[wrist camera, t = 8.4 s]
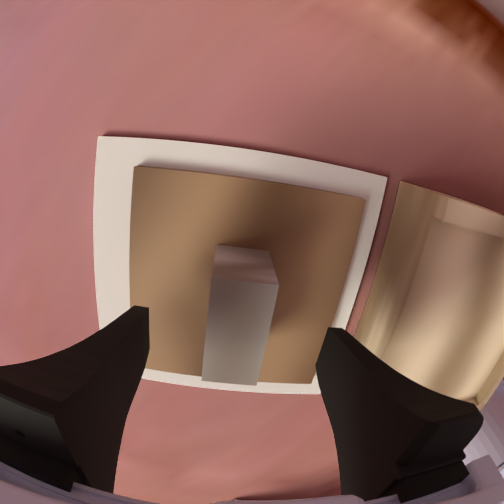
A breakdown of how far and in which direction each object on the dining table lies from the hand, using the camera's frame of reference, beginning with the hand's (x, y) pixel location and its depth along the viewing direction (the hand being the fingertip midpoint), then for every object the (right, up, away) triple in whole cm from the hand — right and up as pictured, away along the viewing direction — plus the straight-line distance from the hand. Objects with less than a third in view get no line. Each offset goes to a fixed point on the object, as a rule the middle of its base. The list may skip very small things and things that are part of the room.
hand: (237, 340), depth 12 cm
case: (+13, 0, +6) cm, 14 cm away
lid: (0, +2, +4) cm, 4 cm away
